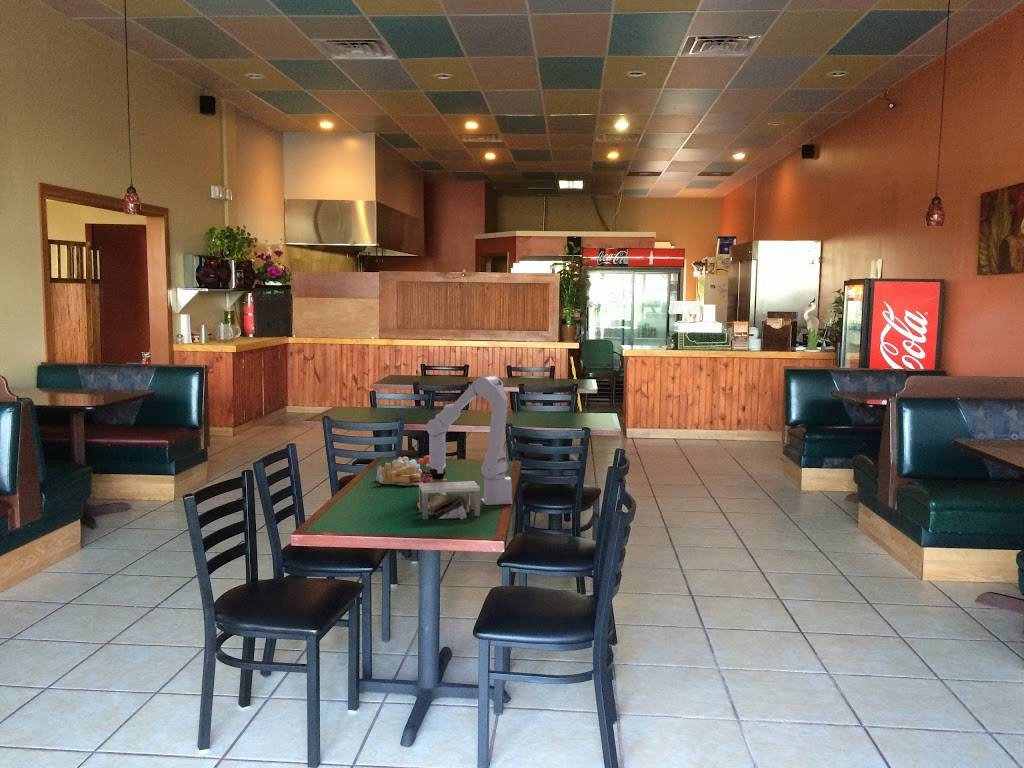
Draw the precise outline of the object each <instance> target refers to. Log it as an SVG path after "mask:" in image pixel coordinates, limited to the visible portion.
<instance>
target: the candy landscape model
mask: <svg viewBox="0 0 1024 768" xmlns="http://www.w3.org/2000/svg"><path fill="white" fill-rule="evenodd" d="M426 464H429V454H428V455H424V456H423V458H418V460H416V459H413V458H412V459H411V460H410V459H409V457H408V456H403V457H401V456H398V458H397V459H394V460H392V462H385V463H384V466H381V464H380V465H377V468H376V471H377V473H376V478H375V479H376V481H377V483H378V482H379V484H383V485H396V486H397V485H398V486H419V483H430V479H432V476H431V473H430V472H429V470H427V469H426V468H422V467H421V466H423V465H424V466H426ZM430 469H434V468H431V467H430Z"/></svg>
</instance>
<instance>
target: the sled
mask: <svg viewBox="0 0 1024 768" xmlns="http://www.w3.org/2000/svg"><path fill="white" fill-rule="evenodd" d="M441 482H448V479H447V478H443V479H430V483H441ZM459 494H460V493H455V494H454V493H451V494H449V493H448V494H447V492H442V493H439V494H431V495H430V494H429V502H430V510H429V514H430V515H433V514H432V512H431V510H432V508H433V507H435V506H438V505H440V504H441V503H443V502H446V501H447V500H449V499H451V498H453V497H456V496H458V495H459ZM463 494H464V498H465V499H466V501H467V509H466V513H470V509H469V501H470V492H469V493H466V492H465V493H463Z"/></svg>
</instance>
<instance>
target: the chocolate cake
mask: <svg viewBox="0 0 1024 768" xmlns="http://www.w3.org/2000/svg"><path fill="white" fill-rule="evenodd" d="M458 494H459V495H458V496H456V497H453V498H451V499H449V500H447V501H446V502H443V503H441V504H440V505H438V506H435V507H433V508H432V510H431V512H432V514H431V515H432V516H436V518H437V520H440V519H447V520H449V521H452V520H453V519H460V520H464V519H467V512H466V509H467V501H466V499H465V498H464V494H465V493H458Z"/></svg>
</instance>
